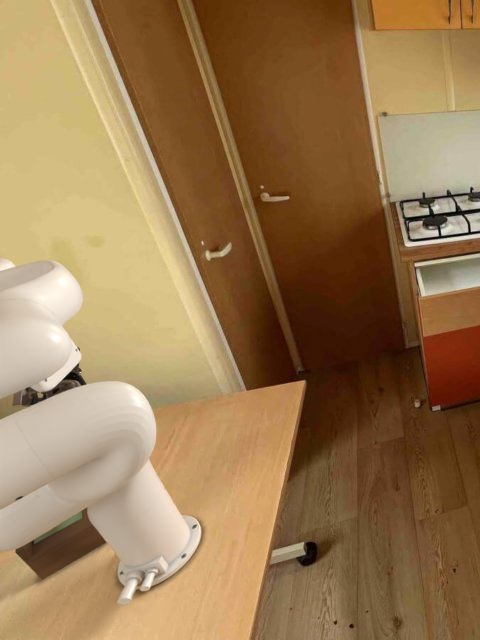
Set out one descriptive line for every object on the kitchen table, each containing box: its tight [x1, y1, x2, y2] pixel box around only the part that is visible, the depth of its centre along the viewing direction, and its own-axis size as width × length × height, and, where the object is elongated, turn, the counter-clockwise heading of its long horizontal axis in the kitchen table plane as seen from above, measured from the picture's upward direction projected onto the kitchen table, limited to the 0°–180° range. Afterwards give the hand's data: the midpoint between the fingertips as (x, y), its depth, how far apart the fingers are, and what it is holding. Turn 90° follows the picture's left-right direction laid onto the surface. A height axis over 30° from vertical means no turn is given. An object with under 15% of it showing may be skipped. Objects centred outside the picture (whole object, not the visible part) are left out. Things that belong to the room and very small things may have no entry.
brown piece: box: [14, 508, 107, 581], centre depth 81 cm, size 9×12×9 cm
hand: (68, 403), depth 80 cm, fingers closed on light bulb, 5 cm apart
